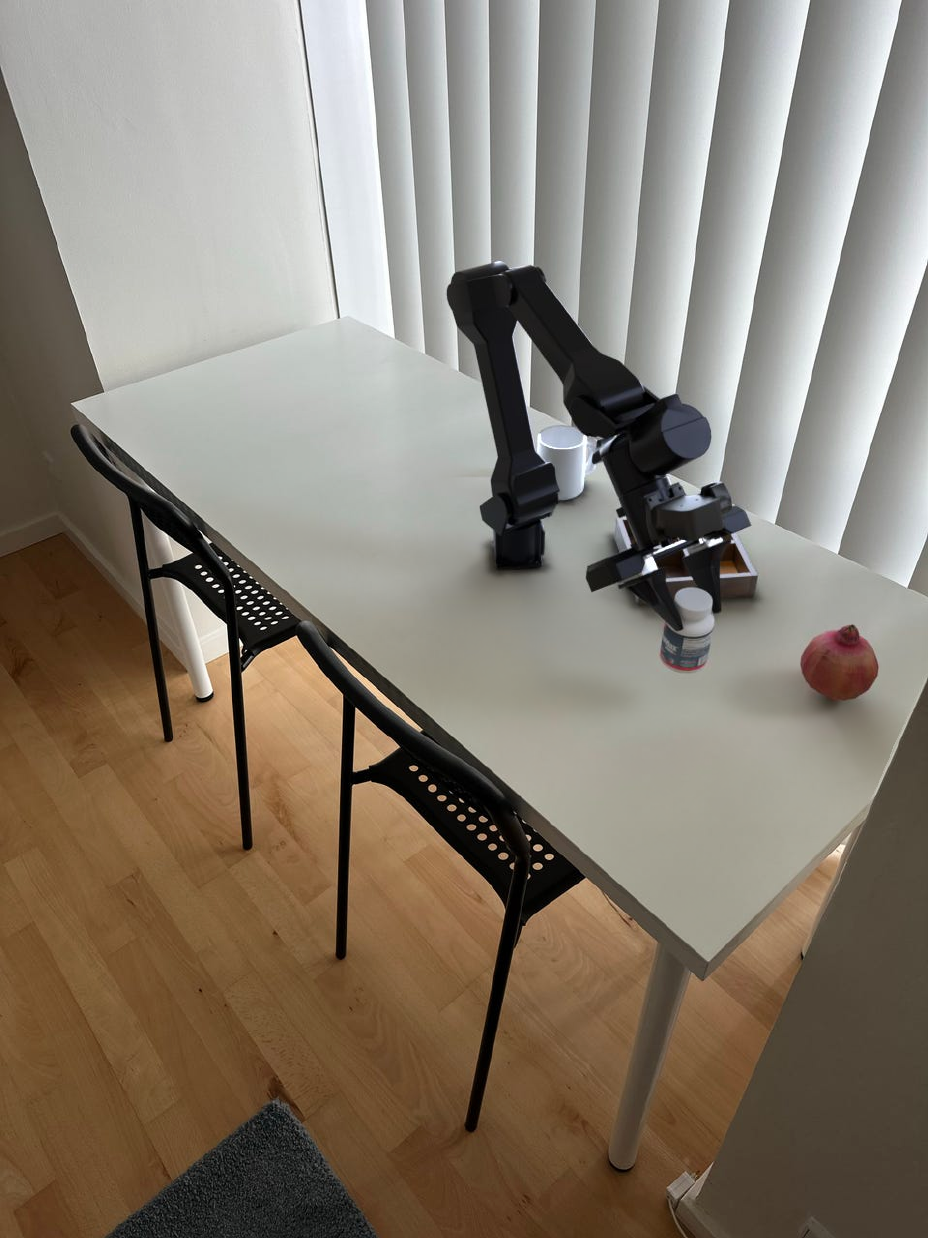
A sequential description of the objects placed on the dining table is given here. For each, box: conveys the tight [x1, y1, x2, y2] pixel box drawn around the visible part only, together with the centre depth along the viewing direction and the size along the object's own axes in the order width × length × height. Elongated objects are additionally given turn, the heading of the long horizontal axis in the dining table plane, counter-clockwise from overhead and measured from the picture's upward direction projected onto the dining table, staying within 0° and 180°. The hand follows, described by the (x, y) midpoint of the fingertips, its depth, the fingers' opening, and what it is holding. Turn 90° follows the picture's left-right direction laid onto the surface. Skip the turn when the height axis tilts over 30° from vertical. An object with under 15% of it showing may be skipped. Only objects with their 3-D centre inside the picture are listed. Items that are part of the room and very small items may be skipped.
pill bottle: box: [659, 587, 715, 675], centre depth 104 cm, size 5×5×9 cm
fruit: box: [799, 623, 879, 701], centre depth 107 cm, size 8×8×10 cm
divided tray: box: [613, 516, 759, 606], centre depth 128 cm, size 15×15×4 cm
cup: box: [536, 424, 598, 501], centre depth 143 cm, size 7×10×9 cm
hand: (698, 621), depth 102 cm, fingers closed on pill bottle, 5 cm apart
